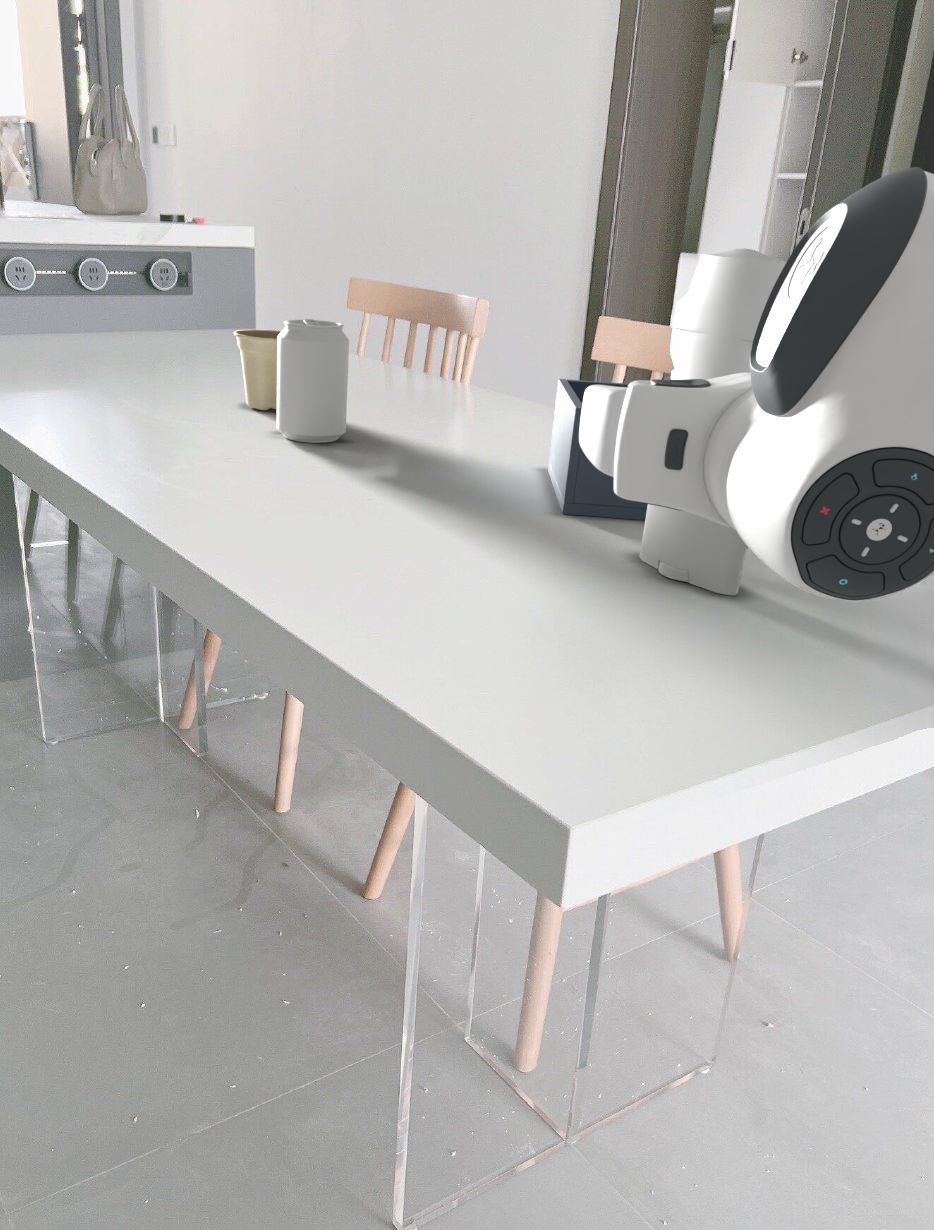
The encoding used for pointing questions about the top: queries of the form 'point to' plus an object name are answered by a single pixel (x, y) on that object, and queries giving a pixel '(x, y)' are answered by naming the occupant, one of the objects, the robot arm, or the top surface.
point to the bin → (582, 462)
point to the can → (312, 380)
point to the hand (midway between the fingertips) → (722, 411)
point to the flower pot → (259, 366)
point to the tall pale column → (703, 349)
